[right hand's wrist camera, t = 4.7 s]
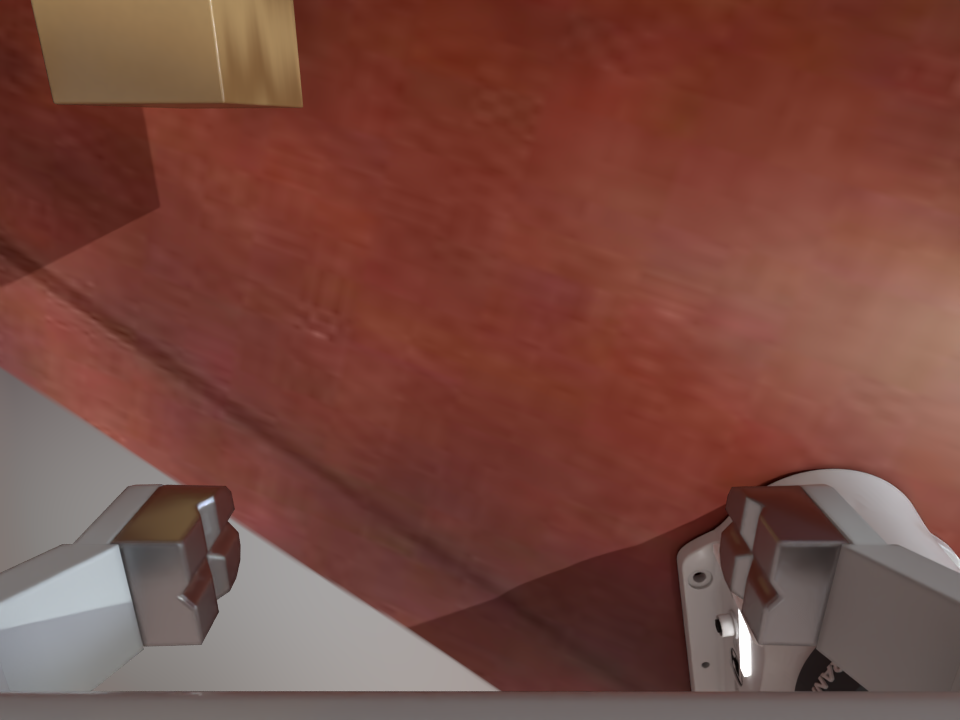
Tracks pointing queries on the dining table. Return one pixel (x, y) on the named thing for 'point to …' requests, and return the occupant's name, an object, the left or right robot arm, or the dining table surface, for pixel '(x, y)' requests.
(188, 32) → the bar
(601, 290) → the dining table surface
